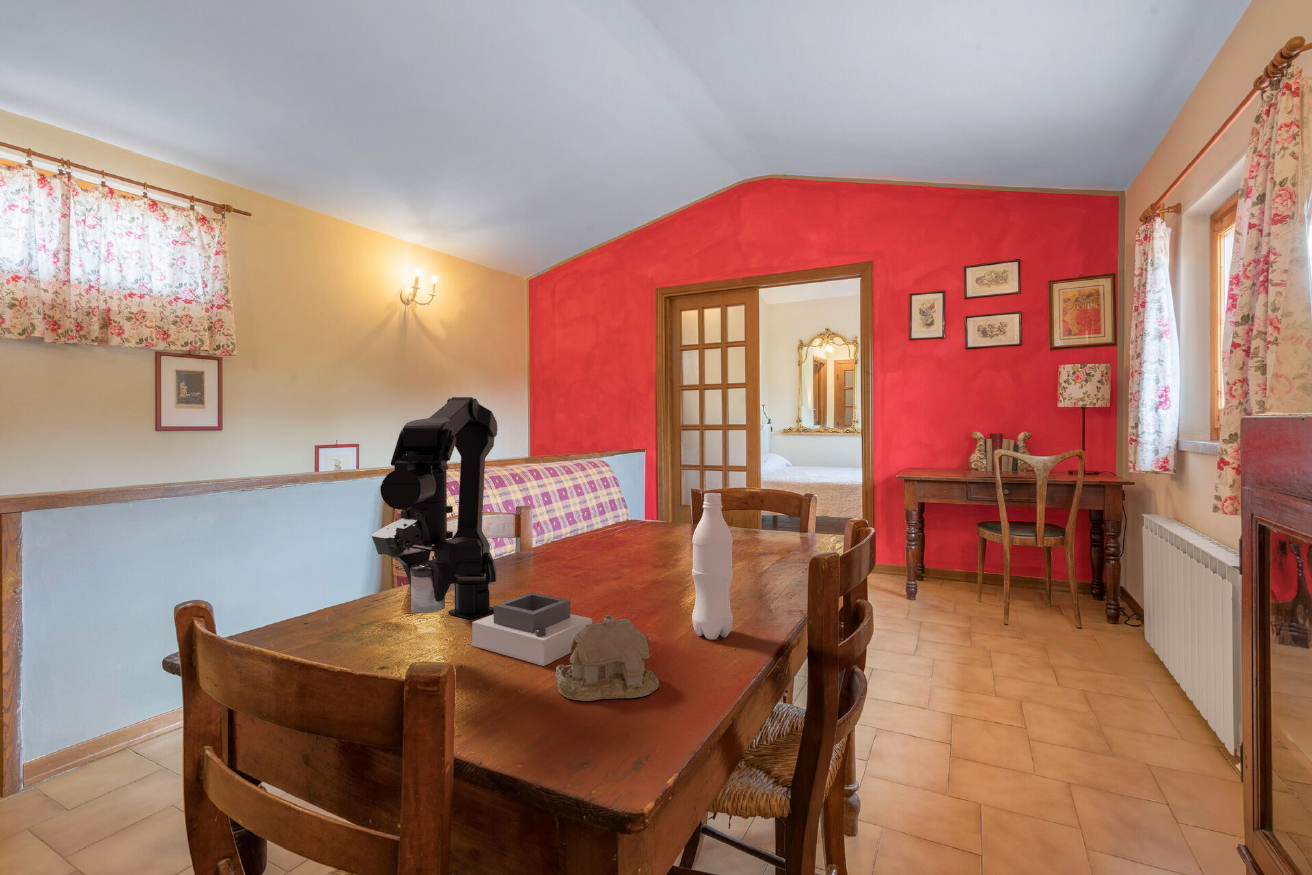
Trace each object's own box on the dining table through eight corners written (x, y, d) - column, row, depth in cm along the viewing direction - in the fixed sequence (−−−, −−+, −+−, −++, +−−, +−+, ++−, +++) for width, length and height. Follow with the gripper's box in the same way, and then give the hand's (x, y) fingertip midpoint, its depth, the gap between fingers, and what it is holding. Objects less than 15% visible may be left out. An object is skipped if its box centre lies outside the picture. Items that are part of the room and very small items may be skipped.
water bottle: (706, 644, 99) (706, 497, 99) (684, 631, 106) (684, 492, 105) (740, 637, 103) (741, 494, 102) (718, 625, 109) (718, 490, 109)
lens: (403, 609, 93) (403, 565, 93) (431, 601, 97) (431, 559, 97) (424, 615, 90) (424, 570, 90) (452, 606, 94) (452, 563, 94)
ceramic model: (639, 664, 92) (639, 600, 91) (669, 694, 81) (668, 622, 81) (550, 679, 86) (549, 611, 86) (569, 713, 76) (569, 636, 76)
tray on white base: (472, 645, 99) (472, 604, 99) (523, 625, 109) (523, 587, 109) (543, 666, 90) (543, 620, 90) (591, 641, 101) (591, 601, 101)
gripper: (344, 502, 91) (345, 602, 92) (421, 511, 82) (422, 623, 82) (407, 495, 101) (408, 585, 101) (483, 502, 91) (484, 602, 91)
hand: (428, 598), depth 94 cm, fingers closed on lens, 5 cm apart
